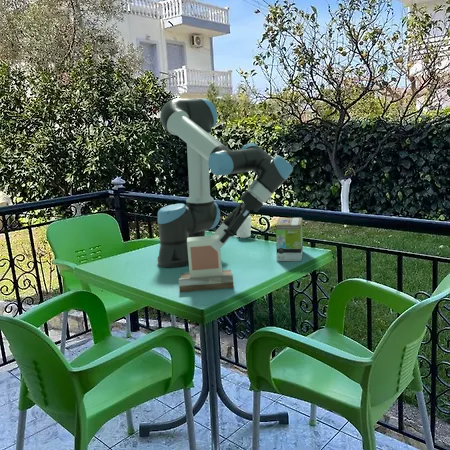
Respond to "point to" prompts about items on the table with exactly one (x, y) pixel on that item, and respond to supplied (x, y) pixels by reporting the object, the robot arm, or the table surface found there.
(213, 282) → the shelf board
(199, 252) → the cream carton
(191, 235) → the mug
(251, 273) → the table surface
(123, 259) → the table surface
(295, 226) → the tea box
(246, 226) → the white cup
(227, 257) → the table surface
